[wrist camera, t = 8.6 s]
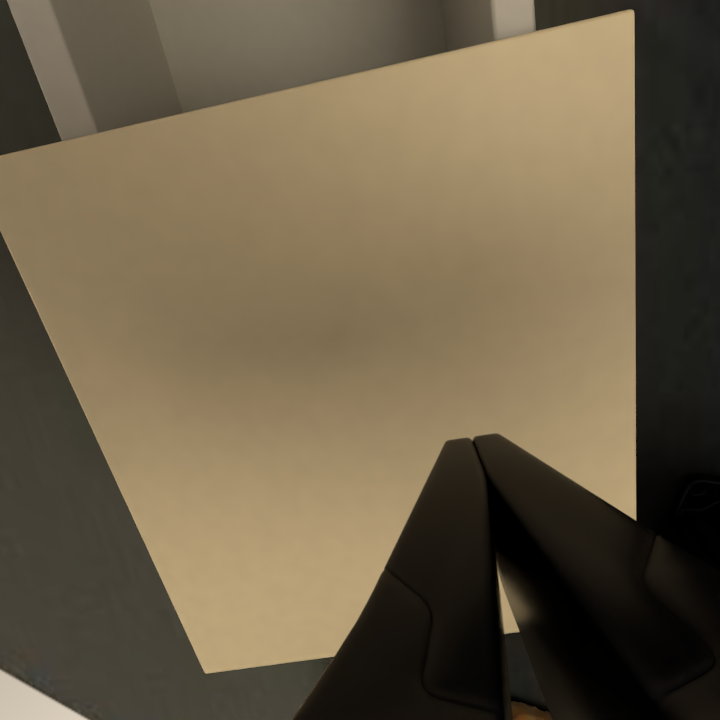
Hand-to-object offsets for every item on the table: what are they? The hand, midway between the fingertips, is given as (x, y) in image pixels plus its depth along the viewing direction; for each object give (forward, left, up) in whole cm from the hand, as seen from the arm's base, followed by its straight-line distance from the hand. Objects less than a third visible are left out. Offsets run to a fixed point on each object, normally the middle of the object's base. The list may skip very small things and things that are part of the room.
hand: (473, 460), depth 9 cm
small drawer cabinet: (+2, +2, -12) cm, 13 cm away
